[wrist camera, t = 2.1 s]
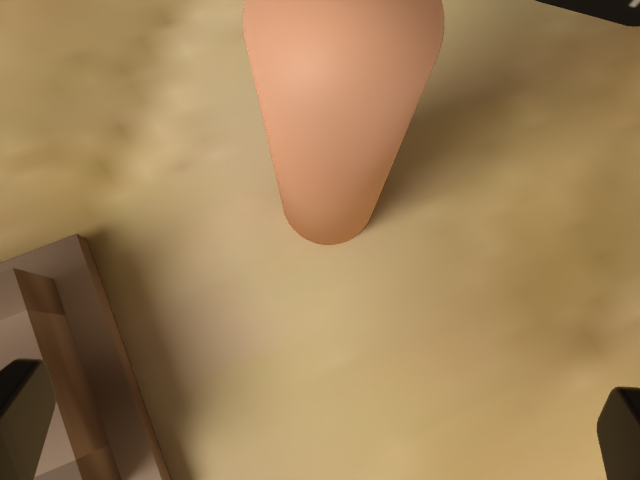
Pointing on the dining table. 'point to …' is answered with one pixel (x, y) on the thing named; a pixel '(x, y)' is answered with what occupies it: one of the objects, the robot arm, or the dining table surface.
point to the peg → (338, 100)
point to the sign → (604, 9)
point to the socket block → (77, 366)
